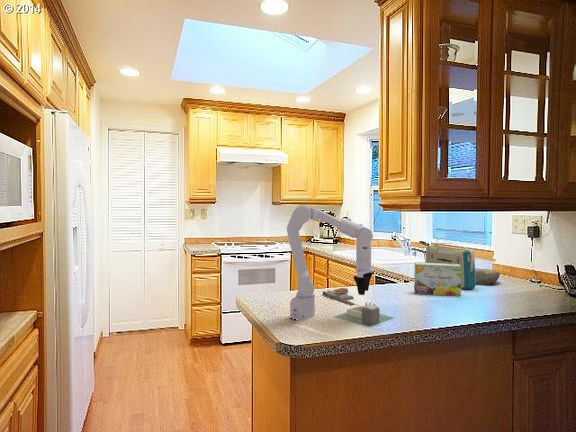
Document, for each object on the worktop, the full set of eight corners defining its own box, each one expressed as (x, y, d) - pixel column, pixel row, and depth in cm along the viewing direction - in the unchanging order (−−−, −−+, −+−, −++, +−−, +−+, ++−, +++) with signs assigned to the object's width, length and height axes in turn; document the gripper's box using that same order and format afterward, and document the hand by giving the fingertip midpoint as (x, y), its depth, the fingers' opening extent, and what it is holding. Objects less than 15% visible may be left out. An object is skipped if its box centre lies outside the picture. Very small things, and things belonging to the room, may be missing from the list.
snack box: (414, 294, 198) (415, 263, 197) (414, 291, 203) (414, 261, 203) (461, 296, 193) (461, 265, 192) (459, 294, 198) (459, 263, 198)
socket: (364, 319, 153) (364, 313, 153) (346, 314, 159) (346, 309, 159) (377, 314, 158) (377, 309, 158) (360, 310, 165) (360, 305, 165)
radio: (423, 280, 232) (423, 237, 231) (433, 279, 235) (434, 236, 234) (465, 290, 205) (466, 241, 204) (476, 289, 208) (477, 241, 207)
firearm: (382, 301, 179) (355, 305, 172) (382, 306, 179) (355, 310, 172) (343, 287, 204) (319, 290, 197) (343, 292, 204) (318, 294, 197)
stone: (462, 282, 225) (462, 268, 225) (483, 279, 234) (484, 265, 234) (484, 287, 213) (485, 272, 213) (506, 283, 222) (507, 269, 222)
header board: (369, 329, 144) (369, 326, 144) (333, 319, 156) (333, 316, 156) (395, 320, 155) (395, 317, 155) (359, 311, 167) (359, 308, 167)
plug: (371, 325, 145) (372, 309, 145) (361, 322, 149) (362, 306, 148) (379, 322, 148) (379, 306, 148) (369, 320, 152) (369, 304, 151)
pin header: (374, 314, 160) (374, 304, 160) (363, 311, 164) (363, 301, 164) (377, 313, 161) (377, 303, 161) (365, 310, 165) (365, 301, 165)
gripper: (370, 261, 149) (370, 297, 149) (377, 256, 162) (376, 289, 163) (351, 260, 151) (351, 296, 152) (359, 255, 165) (359, 288, 165)
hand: (363, 292), depth 158 cm, fingers open, 7 cm apart
